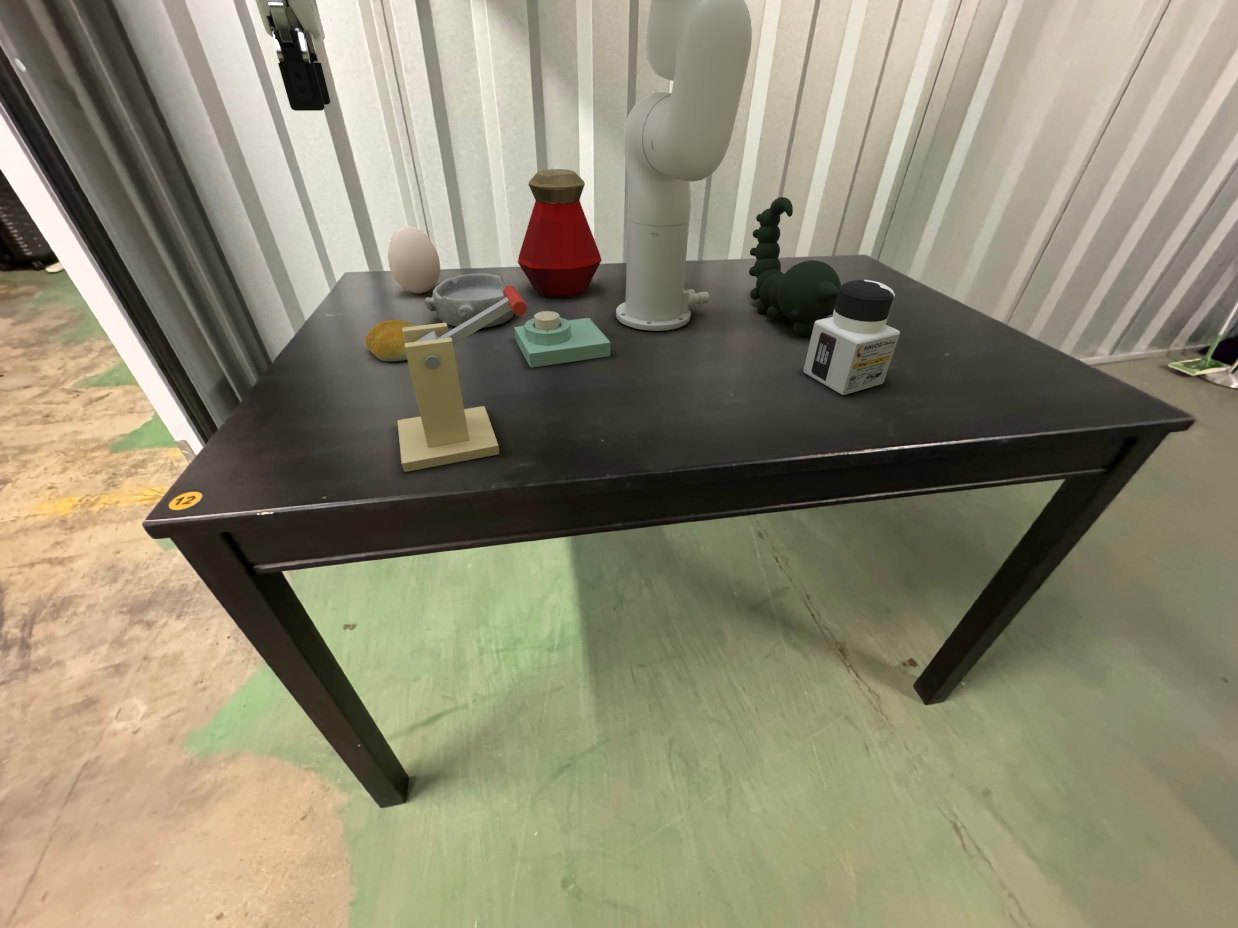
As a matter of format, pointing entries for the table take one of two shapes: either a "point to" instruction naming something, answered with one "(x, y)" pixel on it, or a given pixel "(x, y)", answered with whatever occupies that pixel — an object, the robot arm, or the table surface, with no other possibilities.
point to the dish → (467, 298)
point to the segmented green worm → (790, 277)
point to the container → (854, 339)
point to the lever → (485, 316)
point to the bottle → (558, 237)
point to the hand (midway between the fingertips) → (312, 107)
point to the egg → (413, 260)
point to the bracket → (440, 407)
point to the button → (547, 320)
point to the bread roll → (388, 340)
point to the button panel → (561, 342)
